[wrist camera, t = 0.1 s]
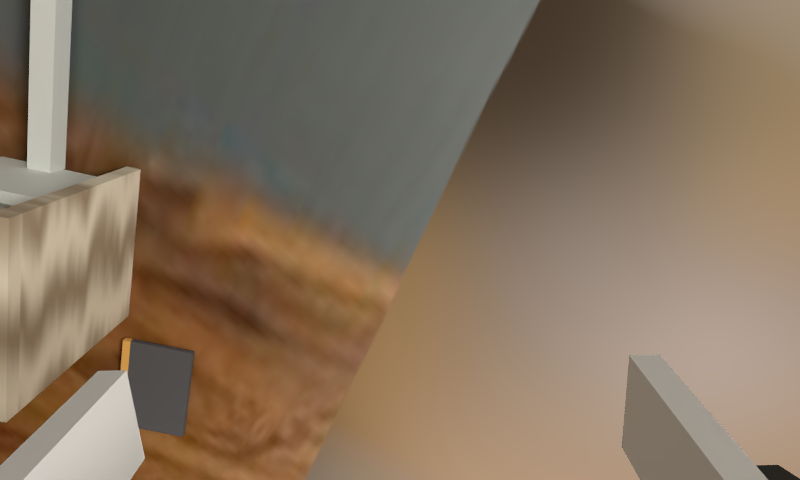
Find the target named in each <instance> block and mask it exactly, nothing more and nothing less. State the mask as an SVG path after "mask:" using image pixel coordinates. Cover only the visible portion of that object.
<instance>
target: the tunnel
mask: <svg viewBox="0 0 800 480" xmlns="http://www.w3.org/2000/svg"><path fill="white" fill-rule="evenodd" d="M140 171H141V169H136V168H132V167H124V168H121V169H118V170H115V171H113V172H110V173H107V174H104V175H101V176H98V177H95V178H92V179H89V180H86V181H84V182H81V183H78V184H75V185H72V186H69V187H66V188H63V189H60V190H57V191H54V192H52V193H49V194H46V195H43V196H40V197H37V198H34V199H31V200H28V201H25V202H23V203H20V204H17V205H14V206H11V207H8V208H5V209H0V421H1V422H7V421H8V420H10V419H11V418H12V417H13V416H14V415H15V414H16V413H18V412H19V411H20V410H21V409H22V408H23V407H25V406H26V405H27V404H28V403H29V402H30V401H31V400H33V399H34V398H35V397H36V396H37V395H38V394H39V393H41V392H42V391H43V390H44V389H45V388H46V387H47V386H49V385H50V384H51V383H52V382H53V381H54V380H55V379H57V378H58V377H59V376H60V375H61V374H62V373H63V372H65V371H66V370H67V369H68V368H69V367H70V366H71V365H73V364H74V363H75V362H76V361H77V360H78V359H79V358H81V357H82V356H83V355H84V354H85V353H86V352H87V351H89V350H90V349H91V348H92V347H93V346H94V345H95V344H97V343H98V342H99V341H100V340H101V339H102V338H103V337H105V336H106V335H107V334H108V333H109V332H110V331H112V330H113V329H114V328H115V327H116V326H117V325H118V324H120V323H121V322H122V321H123V320H124V319H125V318H126V317H128V316H129V305H130V293H131V280H132V268H133V256H134V244H135V232H136V220H137V208H138V195H139V183H140Z"/></svg>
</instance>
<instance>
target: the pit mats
mask: <svg viewBox="0 0 800 480" xmlns="http://www.w3.org/2000/svg"><path fill="white" fill-rule="evenodd" d="M193 359H194V351H190V350H185V349H180V348H175V347H170V346H165V345H160V344H155V343H150V342H145V341H140V340H135V339H130V338H124V339H123V345H122V357H121V370H127V375H128V379H129V384H130V389H131V394H132V399H133V404H134V408H135V413H136V418H137V423H138V428H140V429H146V430H151V431H156V432H161V433H166V434H171V435H176V436H182V437H183V435H184V433H185V425H186V417H187V409H188V400H189V392H190V384H191V376H192V368H193Z"/></svg>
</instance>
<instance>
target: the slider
mask: <svg viewBox="0 0 800 480" xmlns="http://www.w3.org/2000/svg"><path fill="white" fill-rule="evenodd" d="M71 19H72V0H31V9H30V53H29V97H28V142H27V162H26V161H21V160H17V159H12V158H7V157H0V203H3V204H7V205H12V206H14V205H17V204H20V203H23V202H25V201H28V200H31V199H34V198H37V197H40V196H43V195H46V194H49V193H52V192H54V191H57V190H60V189H63V188H66V187H69V186H72V185H75V184H78V183H81V182H84V181H86V180H89V179H92V178H95V177H96V176H92V175H87V174H82V173H78V172H73V171H68V170H63V169H65V160H66V137H67V113H68V90H69V66H70V43H71Z"/></svg>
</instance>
